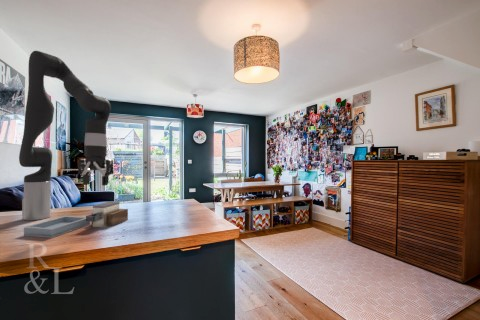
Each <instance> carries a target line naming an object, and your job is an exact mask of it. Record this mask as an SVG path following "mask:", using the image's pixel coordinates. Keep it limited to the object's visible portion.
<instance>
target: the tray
mask: <svg viewBox="0 0 480 320" xmlns="http://www.w3.org/2000/svg"><path fill="white" fill-rule="evenodd" d="M90 222H91V221H86V216H73V215H71V216H70V215H64V216H59V217H57V218H53V219H49V220H46V221H42V222H38V223H36V224H31V225H28V226H24V227H23V236H25V237H36V238H37V237H38V238H50V239H53V238H55V237H58V236H61V235H65V234H67V233H69V232H71V231H75V230H77V229H82V228H84V227H86V226H90Z"/></svg>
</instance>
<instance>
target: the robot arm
mask: <svg viewBox="0 0 480 320" xmlns="http://www.w3.org/2000/svg"><path fill="white" fill-rule="evenodd" d="M45 77H48V78H53V79H58V80H60V81H62V82H63V87H64V89H65V91H66V92H67V93H68V94H69V95H70V96H71V97H73V98H74V99H75V100H76V102H77V104H78V105H79V107H80V108H81V109H82V110H84V111H85V112H88V113H93V114H95V115H94V118H87V119H86V120H85V130H84V131H85V133H84V134H85V135H84V157H85V158H84V159H83V158H80V159H78V164H77V165H78V166H77V169H78V170H77V174H78V175H82V184H83V185H84V186H86V185H90V174H91V172H93V171H98V172H99V173H100V174H101V185H102V186H108V184H109V176H110V175H114V160H113V159H106V158H107V155H108V154H107V153H108V149H107V147H108V146H107V145H108V144H107V143H108V142H107V141H108V140H107V124H108V121H109V118H110V114H111V111H112V106H111V103H110V101H109V100H108V99H107V98H104V97H103V96H99V95H95V94H94V91H93V90H92V89H91V88H90V87H89V86H88V85H86V83H84V82H83V81H81V80H80V79H79V78H78V77H77V76H76V75H75V73H73V71H72V70H71V69H70V67H68V65H67V64H66V63H65V61H64V60H62V59H61V58H59V57H57V56H55V55H52V54H49V53H46V52H43V51H40V50H33V51H31V53H30V55H29V58H28V88H27V98H26V105H25V113H24V125H23V127H24V128H23V135H22V139H21V145H20V149H19V155H18V162H19V164H20V166H21V167H23V168H39V169H38V170H37V171H35V172H33V173H29V174H26V175H24V176H23V198H22V199H21V206H22V207H21V208H22V210H21V218H22V220H24V221H38V220H44V219H47V218H50V217H51V202H52V201H51V196H52V194H51V189H52V188H51V183H52V182H51V181H52V178H51V177H52V165H53V153H52V150H51V149H50V148H49V147H42V146H41V147H39V146H38V147H37V146H34V144H35V142H36V140H37V138H38V137H39V136H40V135H41V134H42V133H44V132H45V130H47V129H48V128H49V127H50V126H51V124H52V123H53V119H54V114H55V106H54V103H53V102H52V99H50V96H49V95H48V93H47V91H46V88H45V83H44V82H45V81H44V80H45V79H44V78H45Z"/></svg>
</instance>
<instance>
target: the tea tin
mask: <svg viewBox="0 0 480 320" xmlns="http://www.w3.org/2000/svg"><path fill="white" fill-rule="evenodd" d="M120 203H121V202H120V201H107V202H103V203H99V204H96V205H92V213H93V214H92V213H91V214H89V215H85V217H86V221H90V222H91V223H92V222H93V225H92V227H94V228H105V227H107V226H108V214H110V213H113V212H116V211H119V209H120ZM108 227H109V226H108Z"/></svg>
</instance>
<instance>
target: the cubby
mask: <svg viewBox="0 0 480 320" xmlns="http://www.w3.org/2000/svg"><path fill="white" fill-rule="evenodd" d="M91 214H93V212H91ZM128 216H129V208H119V211H116V212H113V213H110V214H108V227H114V226H116V225H118V224H120V223H123V222H125V221H128V218H129V217H128ZM91 225H92V226H93V222H92V221H91Z"/></svg>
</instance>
